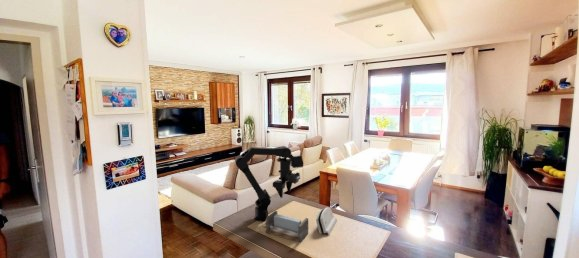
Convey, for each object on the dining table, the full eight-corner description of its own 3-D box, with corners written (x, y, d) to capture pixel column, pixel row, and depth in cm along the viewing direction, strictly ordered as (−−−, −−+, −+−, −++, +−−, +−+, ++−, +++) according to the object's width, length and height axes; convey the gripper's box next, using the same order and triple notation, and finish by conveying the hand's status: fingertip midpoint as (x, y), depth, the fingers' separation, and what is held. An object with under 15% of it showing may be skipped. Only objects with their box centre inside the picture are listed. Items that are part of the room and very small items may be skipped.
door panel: (274, 229, 124) (274, 216, 123) (276, 227, 126) (276, 214, 125) (299, 236, 117) (299, 222, 116) (301, 233, 119) (301, 220, 118)
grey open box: (266, 232, 122) (266, 217, 121) (275, 225, 130) (275, 210, 129) (300, 242, 113) (300, 226, 112) (308, 233, 121) (308, 218, 120)
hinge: (329, 235, 119) (322, 216, 120) (320, 236, 121) (314, 217, 122) (337, 220, 134) (331, 203, 135) (329, 221, 136) (323, 204, 137)
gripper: (290, 174, 127) (290, 203, 129) (304, 166, 143) (304, 192, 145) (271, 172, 132) (272, 199, 134) (287, 164, 148) (288, 189, 150)
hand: (285, 194), depth 141 cm, fingers open, 9 cm apart
